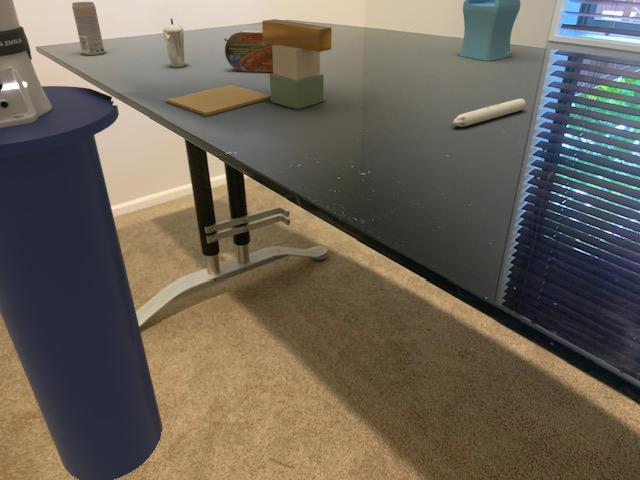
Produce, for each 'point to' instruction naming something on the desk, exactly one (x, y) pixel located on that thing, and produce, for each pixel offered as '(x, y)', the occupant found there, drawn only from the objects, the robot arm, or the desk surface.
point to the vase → (488, 28)
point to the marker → (489, 112)
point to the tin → (249, 52)
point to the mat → (218, 99)
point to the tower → (296, 77)
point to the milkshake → (175, 44)
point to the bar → (297, 35)
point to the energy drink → (88, 28)
